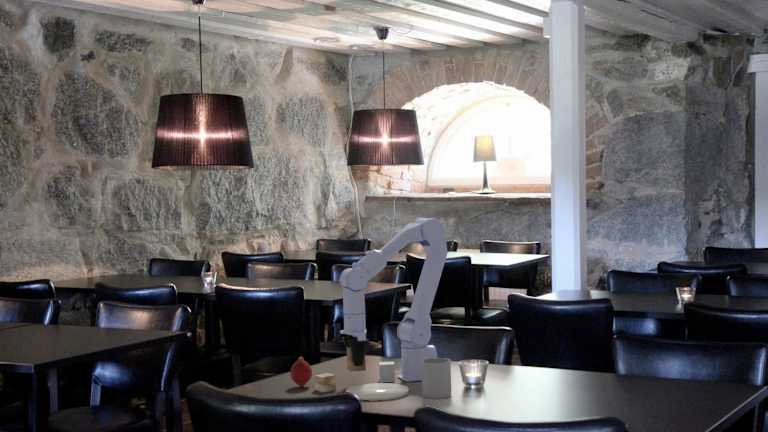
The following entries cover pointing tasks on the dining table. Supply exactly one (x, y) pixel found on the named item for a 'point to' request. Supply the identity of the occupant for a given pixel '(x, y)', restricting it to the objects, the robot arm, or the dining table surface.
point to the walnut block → (350, 362)
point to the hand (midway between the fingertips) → (356, 364)
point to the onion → (301, 372)
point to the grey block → (387, 372)
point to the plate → (379, 391)
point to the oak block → (325, 382)
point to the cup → (436, 378)
